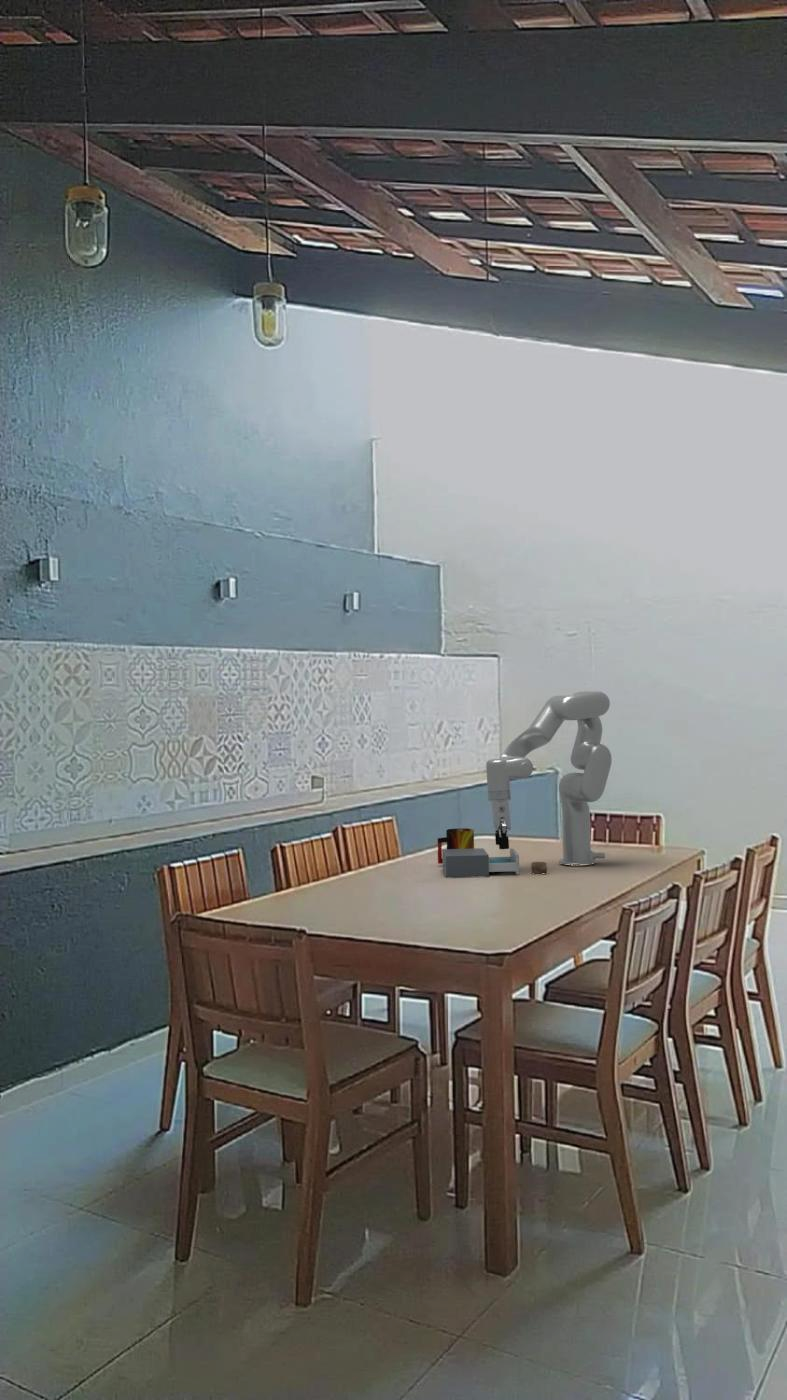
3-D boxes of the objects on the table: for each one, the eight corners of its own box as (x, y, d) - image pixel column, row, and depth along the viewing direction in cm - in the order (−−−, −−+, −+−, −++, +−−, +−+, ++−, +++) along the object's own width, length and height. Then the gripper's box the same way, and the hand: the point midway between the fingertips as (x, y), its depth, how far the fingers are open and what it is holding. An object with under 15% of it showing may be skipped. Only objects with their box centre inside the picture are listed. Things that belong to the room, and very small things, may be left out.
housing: (483, 868, 396) (483, 848, 396) (489, 876, 380) (488, 855, 379) (442, 869, 396) (442, 849, 396) (446, 877, 379) (445, 856, 379)
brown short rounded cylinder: (545, 872, 386) (545, 861, 386) (547, 874, 381) (547, 863, 381) (530, 872, 386) (530, 862, 386) (532, 874, 381) (532, 864, 381)
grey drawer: (513, 867, 396) (512, 848, 396) (519, 874, 381) (518, 854, 381) (474, 868, 395) (473, 849, 395) (478, 875, 380) (478, 855, 380)
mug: (437, 866, 403) (436, 832, 403) (453, 861, 416) (453, 827, 415) (462, 868, 399) (462, 833, 399) (478, 862, 411) (477, 828, 411)
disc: (509, 864, 392) (509, 858, 392) (511, 867, 385) (511, 861, 385) (488, 864, 391) (488, 858, 391) (490, 867, 384) (490, 861, 384)
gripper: (513, 797, 379) (517, 850, 380) (507, 792, 397) (510, 842, 397) (491, 799, 379) (494, 851, 380) (485, 793, 397) (488, 843, 397)
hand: (502, 846), depth 388 cm, fingers open, 9 cm apart
